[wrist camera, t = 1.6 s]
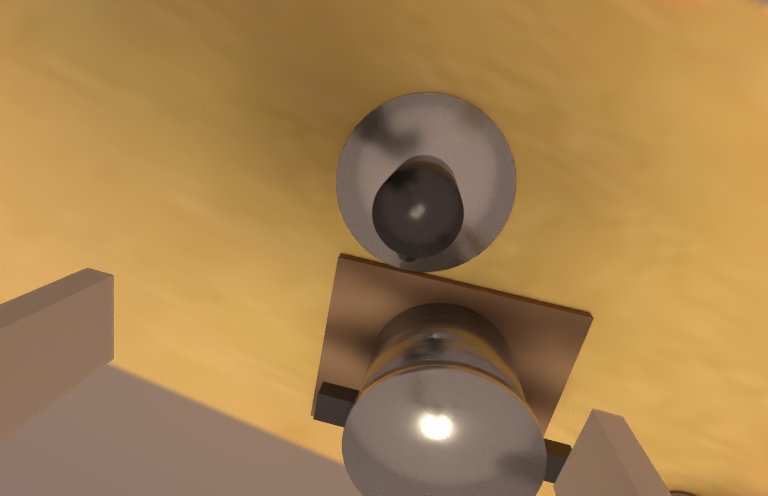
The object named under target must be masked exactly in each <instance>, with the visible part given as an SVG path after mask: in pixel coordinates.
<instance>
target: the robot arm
mask: <svg viewBox="0 0 768 496" xmlns="http://www.w3.org/2000/svg"><path fill="white" fill-rule="evenodd" d="M113 359H114V275H111V274H108V273H104V272H101V271H97V270H93V269H90V268H86V269H83V270H81V271H79V272H76V273H74V274H71V275H69V276H67V277H64V278H62V279H60V280H57V281H55V282H53V283H50V284H48V285H45V286H43V287H41V288H38V289H36V290H34V291H31V292H29V293H26V294H24V295H22V296H19V297H17V298H15V299H12V300H10V301H7V302H5V303H3V304H0V442H1V441H3V440H4V439H5V438H7V437H8V436H9V435H11V434H12V433H13V432H15V431H16V430H18V429H19V428H20V427H22V426H23V425H24V424H26V423H27V422H28V421H30V420H31V419H32V418H34V417H35V416H37V415H38V414H39V413H41V412H42V411H43V410H45V409H46V408H47V407H49V406H50V405H51V404H53V403H54V402H56V401H57V400H58V399H60V398H61V397H62V396H64V395H65V394H66V393H68V392H69V391H70V390H72V389H73V388H74V387H76V386H77V385H78V384H80V383H81V382H83V381H84V380H85V379H87V378H88V377H90V376H91V375H92V374H94V373H95V372H96V371H98V370H99V369H100V368H102V367H103V366H104V365H106V364H107V363H109V362H110V361H111V360H113ZM553 487H554V490H555V493H556V496H672V495H671V493H670V492H669V490H668V488H667V487H666V485H665V484H664V482H663V480H662V479H661V477H660V476H659V474H658V472H657V471H656V469H655V468H654V466H653V464H652V463H651V461H650V460H649V458H648V456H647V455H646V453H645V452H644V450H643V448H642V447H641V445H640V444H639V442H638V440H637V439H636V437H635V436H634V434H633V432H632V431H631V429H630V428H629V426H628V424H627V423H626V421H625V420H624V418H623V417H622V416H618V415H614V414H611V413H607V412H604V411H600V410H596V409H592V411H591V413H590V415H589V417H588V419H587V421H586V423H585V425H584V427H583V429H582V431H581V433H580V435H579V437H578V439H577V441H576V443H575V444H574V446H573V448H572V450H571V452H570V454H569V456H568V458H567V460H566V462H565V464H564V466H563V468H562V470H561V472H560V474H559V476H558V478H557V480H556V482H555V483H554V485H553Z"/></svg>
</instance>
